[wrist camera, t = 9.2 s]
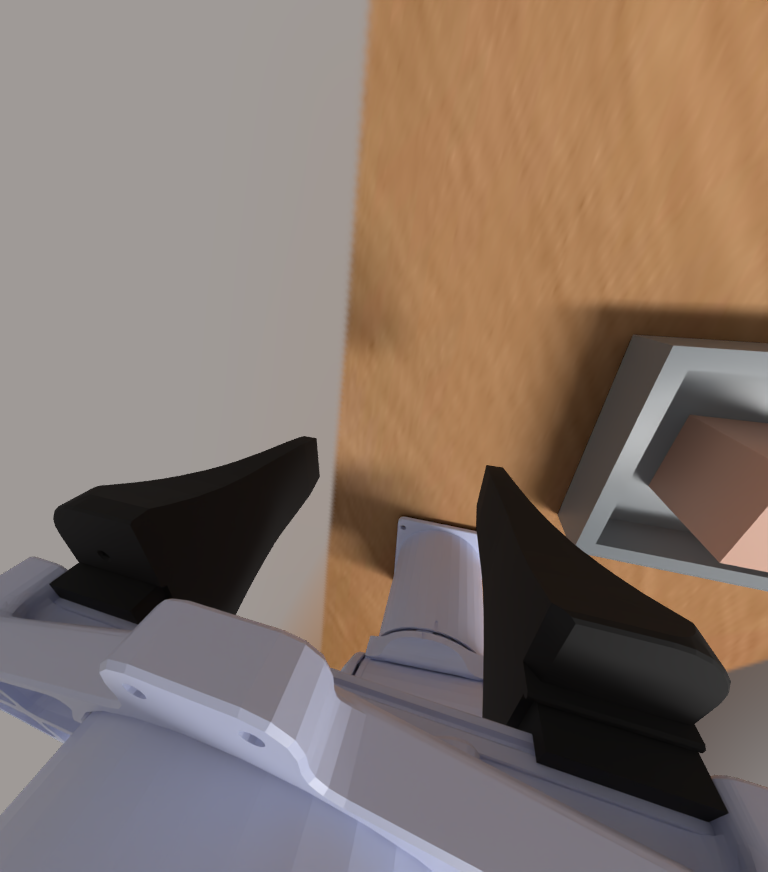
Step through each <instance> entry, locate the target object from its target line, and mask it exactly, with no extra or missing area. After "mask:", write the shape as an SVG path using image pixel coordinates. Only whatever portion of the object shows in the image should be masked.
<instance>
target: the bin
mask: <svg viewBox="0 0 768 872" xmlns="http://www.w3.org/2000/svg"><path fill="white" fill-rule="evenodd" d="M689 415H697V416H706V417H715V418H724V419H733V420H742V421H751V422H760V423H768V343H757V342H741V341H725V340H710V339H694V338H678V337H663V336H647V335H633V336H632V339H631V341H630V343H629V346H628V348H627V351H626V353H625V355H624V358H623V360H622V363H621V365H620V367H619V370H618V372H617V374H616V377H615V379H614V382H613V384H612V386H611V389H610V391H609V394H608V396H607V398H606V401H605V403H604V405H603V408H602V410H601V413H600V415H599V417H598V420H597V422H596V425H595V427H594V429H593V432H592V434H591V436H590V439H589V441H588V444H587V446H586V448H585V451H584V453H583V456H582V458H581V460H580V463H579V465H578V467H577V470H576V472H575V475H574V477H573V479H572V482H571V484H570V487H569V489H568V491H567V494H566V496H565V498H564V501H563V503H562V506H561V508H560V510H559V513H558V517H559V520H560V522H561V524H562V527H563V529H564V532H565V534H566V537H567V538H568V539H569V540H570V541H571V542H572V543H574V544H575V545H576V546H577V547H578V548H580V549H581V550H582V551H584V552H585V553H586V554H587V555H592V556H597V557H602V558H607V559H612V560H617V561H622V562H626V563H631V564H636V565H641V566H646V567H651V568H656V569H661V570H666V571H670V572H675V573H680V574H685V575H690V576H695V577H700V578H705V579H710V580H715V581H719V582H724V583H729V584H734V585H739V586H744V587H749V588H754V589H759V590H764V591H768V572H764V571H759V570H754V569H749V568H744V567H738V566H733V565H728V564H723V563H719V562H718V561H717V560H716V558H715V557H714V556H713V555H712V554H711V553H710V552H709V551H708V550H707V549H706V548H705V547H704V546H703V544H702V543H701V542H700V541H699V540H698V539H697V538H696V537H695V536H694V535H693V534H692V533H691V532H690V530H689V529H688V528H687V527H686V526H685V525H684V524H683V523H682V522H681V521H680V520H679V519H678V518H677V516H676V515H675V514H674V513H673V512H672V511H671V510H670V509H669V508H668V507H667V506H666V505H665V504H664V502H663V501H662V500H661V499H660V498H659V497H658V496H657V495H656V494H655V493H654V492H653V491H652V490H651V488H650V487H649V484H650V482H651V480H652V479H653V477H654V475H655V473H656V472H657V470H658V468H659V467H660V465H661V463H662V461H663V460H664V458H665V456H666V455H667V453H668V451H669V449H670V448H671V446H672V444H673V442H674V441H675V439H676V437H677V436H678V434H679V432H680V430H681V429H682V427H683V425H684V423H685V422H686V420H687V418H688V417H689Z"/></svg>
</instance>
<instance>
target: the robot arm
mask: <svg viewBox="0 0 768 872" xmlns="http://www.w3.org/2000/svg"><path fill="white" fill-rule="evenodd" d="M319 477H320V475H319V463H318V451H317V439H316V438H311V437H306V436H303V437H299V438H296V439H294V440H291V441H288V442H286V443H283V444H281V445H278V446H276V447H273V448H271V449H268V450H266V451H264V452H261V453H258V454H255V455H253V456H250V457H247V458H245V459H242V460H239V461H236V462H233V463H230V464H227V465H223V466H220V467H216V468H212V469H209V470H205V471H200V472H196V473H191V474H186V475H182V476H176V477H170V478H165V479H158V480H152V481H144V482H135V483H126V484H114V485H102V486H97V487H95V488H93V489H90V490H88V491H87V492H85V493H83V494H81V495H79V496H77V497H75V498H73V499H72V500H70V501H68V502H66V503H64V504H62V505H60V506H58V508H57V509H56V510H55V512H54V523H55V526H56V528H57V530H58V532H59V533H60V535H61V537H62V538H63V540H64V541H65V542H66V544H67V545H68V547H69V548H70V550H71V551H72V553H73V554H74V556H75V557H76V559H77V560H78V562H79V563H78V564H76V565H75V566H73V567H72V568H71V569H69V570H67V569H66V568H64V567H63V566H61V565H59V564H57V563H53V562H50V561H47V560H44V559H41V558H38V557H29V558H28V559H26V560H24V561H23V562H21V563H19V564H18V565H16V566H14V567H13V568H11V569H10V570H8V571H7V572H5V573H3V574H1V575H0V710H2V711H4V712H6V713H8V714H10V715H12V716H14V717H15V718H17V719H19V720H21V721H23V722H25V723H27V724H29V725H30V726H32V727H34V728H36V729H38V730H40V731H42V732H43V733H45V734H47V735H49V736H51V737H53V738H54V739H56V740H58V741H60V742H62V743H64V744H63V745H62V746H61V747H60V748H59V749H58V751H57V752H56V753H55V754H54V755H53V756H52V757H51V759H50V760H49V761H48V762H47V763H46V764H45V765H44V766H43V768H42V769H41V770H40V771H39V772H38V773H37V775H36V776H35V777H34V778H33V779H32V780H31V781H30V782H29V784H28V785H27V786H26V787H25V788H24V789H23V790H22V791H21V792H20V794H19V795H18V796H17V797H16V798H15V799H14V800H13V802H12V803H11V804H10V805H9V806H8V807H7V808H6V809H5V811H4V812H3V813H2V814H1V815H0V872H768V788H767V787H764V786H761V785H758V784H755V783H752V782H749V781H745V780H742V779H739V778H735V777H730V776H722V775H719V776H718V775H714V776H710V775H709V773H708V771H707V769H706V767H705V765H704V763H703V761H702V759H701V757H700V755H699V753H698V752H700V753H703V752H705V751H706V748H705V743H704V742H703V740H702V738H701V736H700V734H699V732H698V730H697V728H696V727H695V725H694V724H695V723H696V722H697V721H699V720H700V719H701V718H703V717H704V716H705V715H707V714H708V713H709V712H710V711H712V710H713V709H714V708H716V707H717V706H718V705H719V704H720V703H721V702H722V701H723V700H724V699H725V698H726V696H727V695H728V693H729V689H730V683H731V681H730V678H729V676H728V674H727V672H726V670H725V668H724V667H723V665H722V664H721V662H720V661H719V659H718V658H717V657H716V655H715V654H714V652H713V651H712V649H711V648H710V646H709V645H708V643H707V642H706V641H705V639H704V638H703V636H702V635H701V633H700V632H699V630H698V629H697V628H696V626H695V625H694V624H693V623H692V622H690V621H689V620H687V619H685V618H684V617H682V616H680V615H679V614H677V613H675V612H674V611H672V610H670V609H668V608H667V607H665V606H663V605H662V604H660V603H658V602H657V601H655V600H653V599H652V598H650V597H648V596H647V595H645V594H643V593H642V592H640V591H639V590H637V589H636V588H634V587H633V586H631V585H630V584H628V583H627V582H625V581H624V580H622V579H621V578H619V577H618V576H616V575H615V574H613V573H612V572H610V571H609V570H608V569H606V568H605V567H603V566H602V565H601V564H599V563H598V562H597V561H595V560H594V559H593V558H591V557H590V556H589V555H587V554H586V553H585V552H584V551H582V550H581V549H580V548H578V547H577V546H576V545H575V544H574V543H572V542H571V541H570V540H569V539H568V538H567V537H566V536H564V535H563V534H562V533H561V532H560V531H559V530H558V529H557V528H555V527H554V526H553V525H552V524H551V523H550V522H549V521H548V520H547V519H546V518H545V517H544V516H543V515H542V514H541V513H540V512H539V511H538V509H537V508H536V507H535V506H534V505H533V504H532V503H531V502H530V501H529V499H528V498H527V497H526V496H525V495H524V494H523V492H522V491H521V490H520V489H519V487H518V486H517V485H516V484H515V482H514V481H513V480H512V479H511V477H510V476H509V475H508V473H507V472H506V471H505V470H504V468H502V467H495V466H489V465H486V469H485V473H484V478H483V482H482V486H481V490H480V494H479V498H478V503H477V515H476V530H477V531H473V530H468V529H463V528H458V527H453V526H449V525H444V524H439V523H434V522H429V521H424V520H419V519H414V518H409V517H403V516H402V517H400V518H399V521H398V531H397V543H396V556H395V569H394V577H393V581H392V585H391V589H390V593H389V597H388V601H387V606H386V610H385V614H384V618H383V622H382V626H381V630H380V634H379V636H370V639H369V643H368V646H367V650H366V653H363V652H357V653H355V654H354V655H353V656H352V657H351V659H350V660H349V661H348V662H347V663H346V664H345V665H344V667H343V668H342V670H341V671H339V670H336V669H333V668H330V667H329V665H328V663H327V661H326V659H325V657H324V655H323V654H322V653H321V652H319V651H318V650H317V649H316V648H314V647H313V646H312V645H311V644H310V643H309V642H307V641H306V640H304V639H302V638H300V637H297V636H295V635H293V634H291V633H289V632H287V631H285V630H281V629H278V628H275V627H272V626H268V625H265V624H262V623H259V622H256V621H253V620H249V619H246V618H243V617H240V616H237V615H236V613H237V611H238V609H239V607H240V605H241V603H242V601H243V599H244V597H245V595H246V593H247V591H248V589H249V588H250V586H251V584H252V582H253V580H254V578H255V576H256V575H257V573H258V571H259V569H260V567H261V566H262V564H263V562H264V560H265V559H266V557H267V555H268V554H269V552H270V550H271V548H272V547H273V545H274V543H275V542H276V540H277V539H278V537H279V536H280V534H281V533H282V532H283V530H284V529H285V528H286V526H287V525H288V524H289V522H290V521H291V520H292V518H293V517H294V516H295V514H296V513H297V512H298V510H299V509H300V508H301V506H302V505H303V504H304V502H305V501H306V499H307V498H308V497H309V495H310V494H311V492H312V490H313V488H314V487H315V484H316V482H317V481H318V479H319ZM403 526H405V527H403ZM482 583H483V595H482Z"/></svg>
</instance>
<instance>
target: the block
mask: <svg viewBox="0 0 768 872" xmlns="http://www.w3.org/2000/svg"><path fill="white" fill-rule="evenodd" d="M649 487H650V488H651V490H652V491H653V492H654V493H655V494H656V495H657V496H658V497H659V498H660V499H661V500H662V501H663V502H664V504H665V505H666V506H667V507H668V508H669V509H670V510H671V511H672V512H673V513H674V514H675V515H676V516H677V518H678V519H679V520H680V521H681V522H682V523H683V524H684V525H685V526H686V527H687V528H688V529H689V530H690V532H691V533H692V534H693V535H694V536H695V537H696V538H697V539H698V540H699V541H700V542H701V543H702V544H703V546H704V547H705V548H706V549H707V550H708V551H709V552H710V553H711V554H712V555H713V556H714V557H715V558H716V560H717V561H718V562H719V563H723V564H728V565H733V566H738V567H744V568H749V569H754V570H759V571H764V572H768V423H760V422H751V421H742V420H733V419H724V418H715V417H706V416H697V415H689V417H688V418H687V420H686V422H685V423H684V425H683V427H682V429H681V430H680V432H679V434H678V436H677V437H676V439H675V441H674V442H673V444H672V446H671V448H670V449H669V451H668V453H667V455H666V456H665V458H664V460H663V461H662V463H661V465H660V467H659V468H658V470H657V472H656V473H655V475H654V477H653V479H652V480H651V482H650V484H649Z"/></svg>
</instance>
